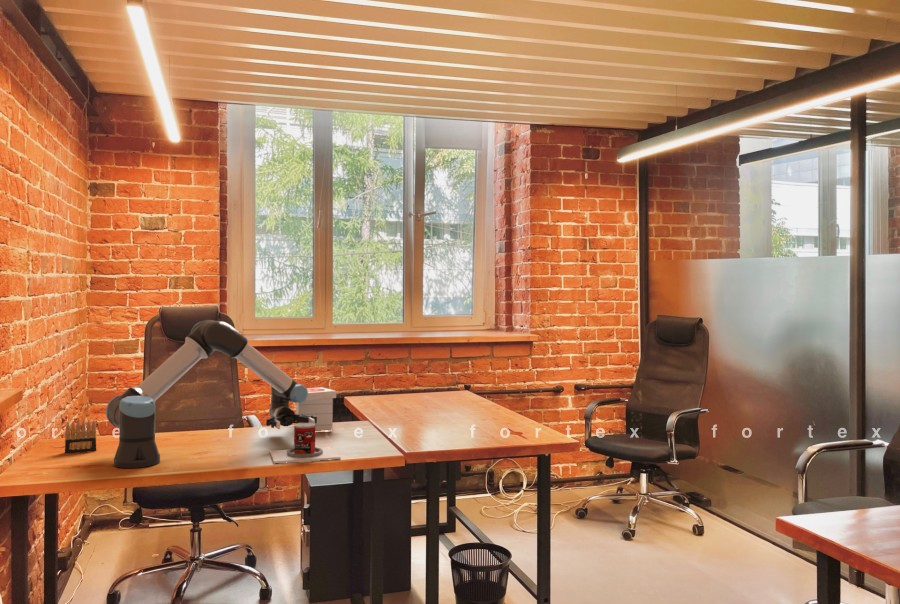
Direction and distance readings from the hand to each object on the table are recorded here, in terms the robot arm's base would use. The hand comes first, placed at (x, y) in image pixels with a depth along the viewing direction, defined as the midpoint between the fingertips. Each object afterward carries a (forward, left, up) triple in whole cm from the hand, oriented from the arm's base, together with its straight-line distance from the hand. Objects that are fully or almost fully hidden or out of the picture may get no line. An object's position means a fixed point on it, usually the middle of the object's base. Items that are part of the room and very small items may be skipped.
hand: (296, 424), depth 268 cm
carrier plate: (-8, -7, -10) cm, 15 cm away
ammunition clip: (-25, +78, -11) cm, 82 cm away
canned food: (-8, -7, -10) cm, 14 cm away
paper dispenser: (+47, +15, -11) cm, 50 cm away
